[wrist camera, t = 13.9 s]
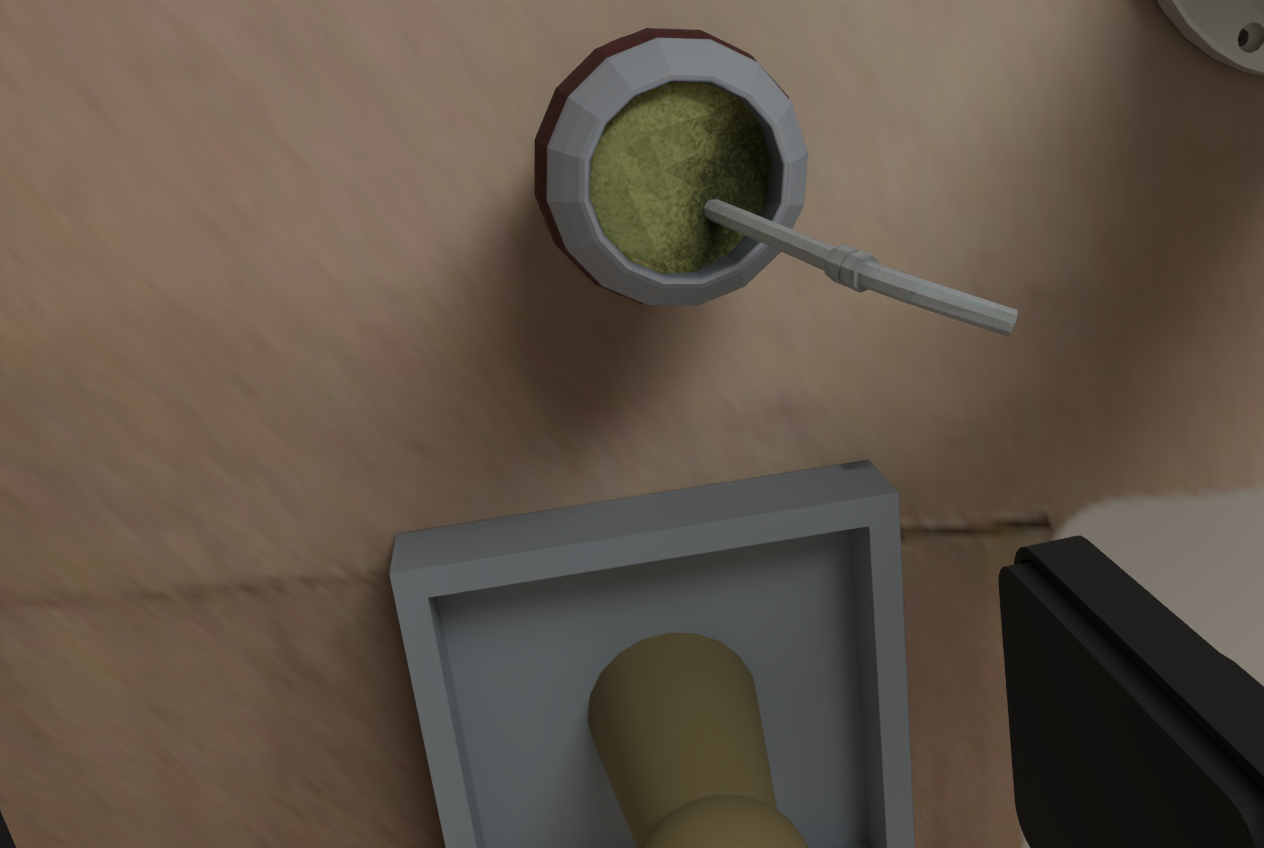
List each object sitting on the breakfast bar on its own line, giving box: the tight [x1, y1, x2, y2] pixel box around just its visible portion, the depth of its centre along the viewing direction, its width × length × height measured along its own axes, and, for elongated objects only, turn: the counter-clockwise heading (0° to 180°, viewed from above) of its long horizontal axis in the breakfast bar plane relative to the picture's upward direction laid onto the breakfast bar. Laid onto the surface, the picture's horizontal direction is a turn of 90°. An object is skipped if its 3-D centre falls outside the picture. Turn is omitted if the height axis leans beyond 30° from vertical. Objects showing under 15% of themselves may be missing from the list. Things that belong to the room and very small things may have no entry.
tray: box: [389, 460, 915, 848], centre depth 40 cm, size 16×16×3 cm
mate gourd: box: [535, 28, 1018, 336], centre depth 28 cm, size 8×8×15 cm
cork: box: [588, 633, 809, 848], centre depth 36 cm, size 6×6×11 cm
